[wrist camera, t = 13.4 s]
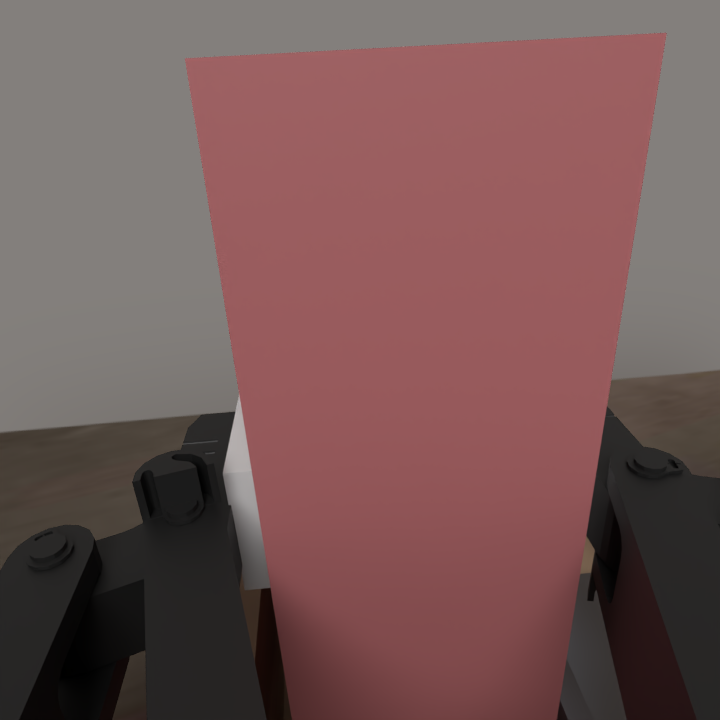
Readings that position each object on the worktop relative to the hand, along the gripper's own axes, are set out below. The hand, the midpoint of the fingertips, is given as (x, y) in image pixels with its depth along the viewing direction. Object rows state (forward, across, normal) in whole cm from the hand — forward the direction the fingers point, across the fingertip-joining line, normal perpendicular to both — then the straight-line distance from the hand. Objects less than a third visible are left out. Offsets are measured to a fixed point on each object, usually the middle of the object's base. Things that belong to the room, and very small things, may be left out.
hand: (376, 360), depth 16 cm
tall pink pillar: (-2, 0, -11) cm, 11 cm away
